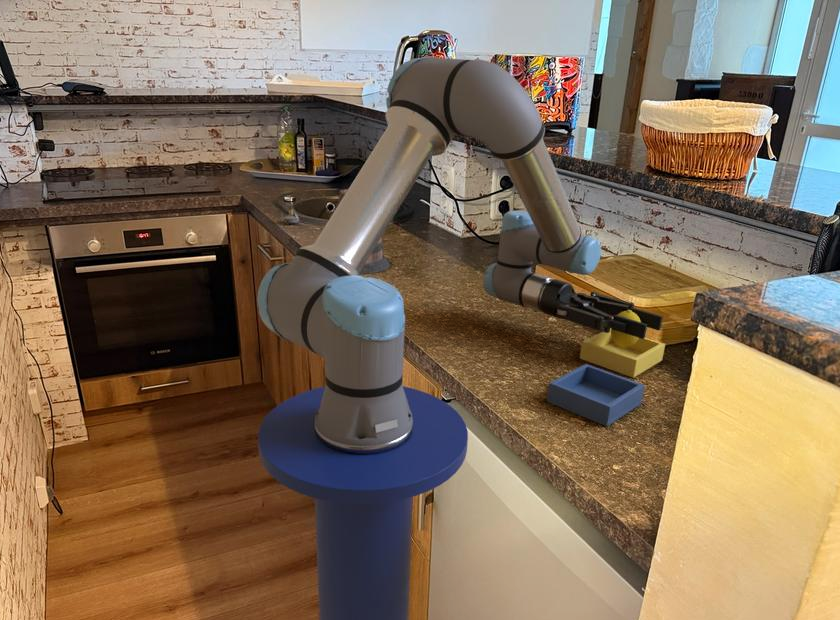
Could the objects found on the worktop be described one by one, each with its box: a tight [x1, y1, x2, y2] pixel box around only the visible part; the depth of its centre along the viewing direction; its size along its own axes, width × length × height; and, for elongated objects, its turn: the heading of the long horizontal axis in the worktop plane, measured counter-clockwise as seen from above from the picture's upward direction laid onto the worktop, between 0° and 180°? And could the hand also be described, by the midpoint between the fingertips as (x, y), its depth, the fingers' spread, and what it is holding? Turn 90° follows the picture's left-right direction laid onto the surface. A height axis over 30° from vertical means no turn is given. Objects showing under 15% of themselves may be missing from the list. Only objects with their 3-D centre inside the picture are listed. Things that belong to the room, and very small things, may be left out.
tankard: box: [336, 188, 391, 275], centre depth 185 cm, size 24×17×20 cm
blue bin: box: [546, 363, 646, 427], centre depth 116 cm, size 12×12×4 cm
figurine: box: [282, 205, 300, 226], centre depth 225 cm, size 5×4×6 cm
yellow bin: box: [579, 328, 666, 379], centre depth 133 cm, size 12×12×4 cm
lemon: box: [611, 310, 641, 349], centre depth 131 cm, size 6×6×8 cm
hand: (652, 327), depth 127 cm, fingers closed on lemon, 5 cm apart
